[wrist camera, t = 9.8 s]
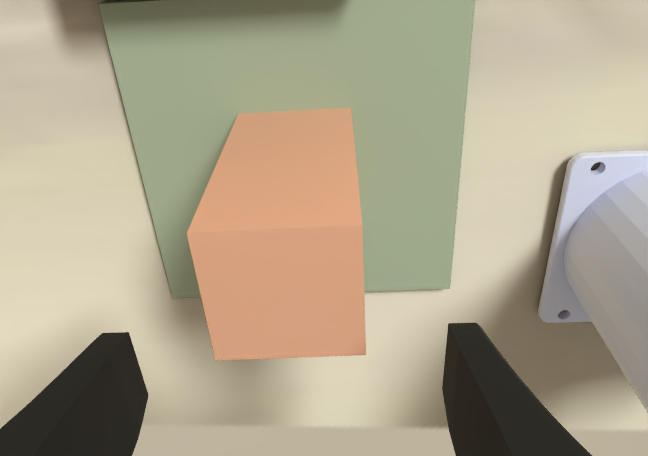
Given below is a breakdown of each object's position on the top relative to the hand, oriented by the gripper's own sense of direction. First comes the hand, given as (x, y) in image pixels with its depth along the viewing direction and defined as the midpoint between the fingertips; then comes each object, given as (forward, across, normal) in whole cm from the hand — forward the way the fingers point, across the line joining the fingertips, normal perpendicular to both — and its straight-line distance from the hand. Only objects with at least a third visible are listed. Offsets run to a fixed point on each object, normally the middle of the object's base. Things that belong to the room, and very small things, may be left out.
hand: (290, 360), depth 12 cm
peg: (+10, 0, -1) cm, 10 cm away
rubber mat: (+10, 0, 0) cm, 10 cm away
